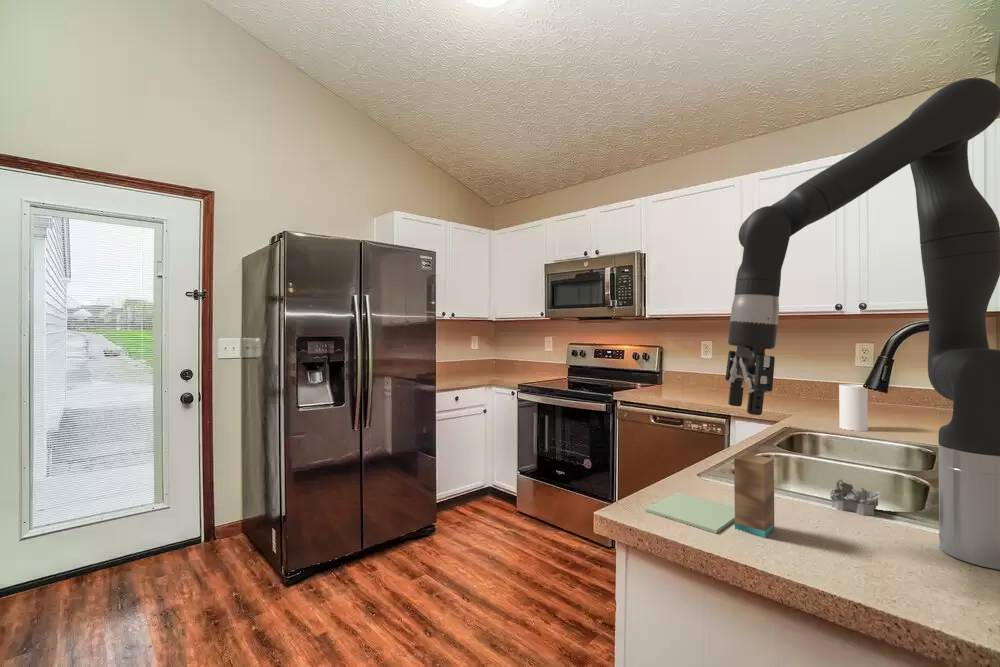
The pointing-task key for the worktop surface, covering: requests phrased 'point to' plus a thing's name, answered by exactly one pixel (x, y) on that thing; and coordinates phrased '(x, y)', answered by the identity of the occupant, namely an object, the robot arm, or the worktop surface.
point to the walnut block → (754, 494)
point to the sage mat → (695, 511)
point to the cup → (853, 407)
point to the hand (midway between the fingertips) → (743, 409)
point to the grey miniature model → (854, 499)
